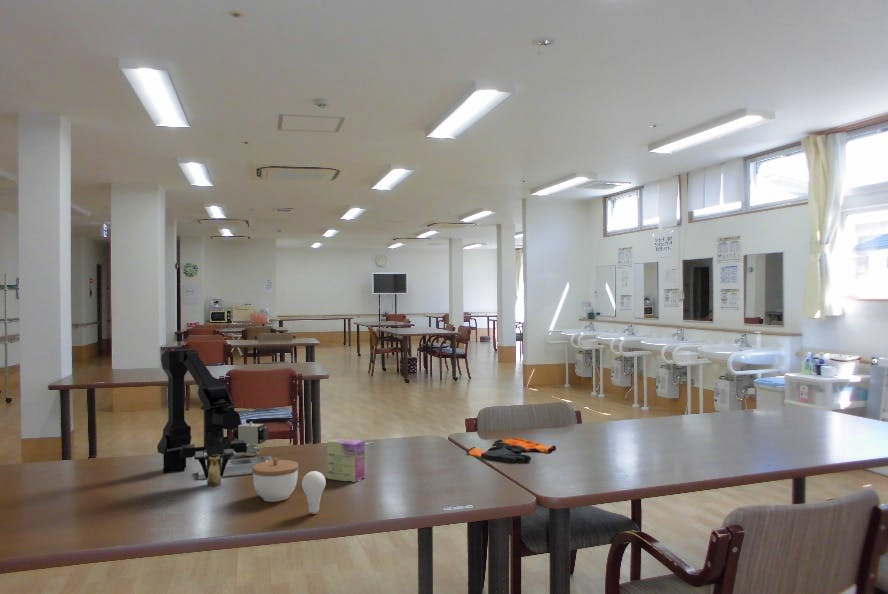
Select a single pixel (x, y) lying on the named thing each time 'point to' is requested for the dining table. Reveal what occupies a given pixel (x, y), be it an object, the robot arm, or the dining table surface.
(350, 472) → the box
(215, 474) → the brass knob
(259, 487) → the lidded bowl
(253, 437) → the pneumatic valve
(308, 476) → the lightbulb
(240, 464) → the silver plate
